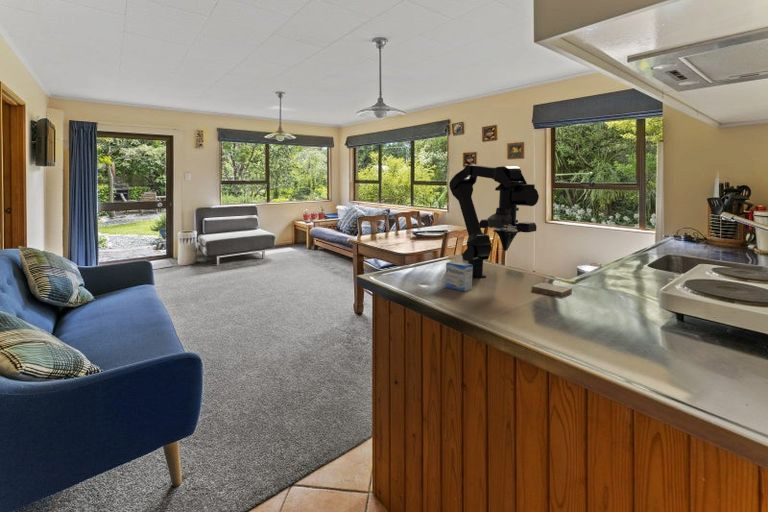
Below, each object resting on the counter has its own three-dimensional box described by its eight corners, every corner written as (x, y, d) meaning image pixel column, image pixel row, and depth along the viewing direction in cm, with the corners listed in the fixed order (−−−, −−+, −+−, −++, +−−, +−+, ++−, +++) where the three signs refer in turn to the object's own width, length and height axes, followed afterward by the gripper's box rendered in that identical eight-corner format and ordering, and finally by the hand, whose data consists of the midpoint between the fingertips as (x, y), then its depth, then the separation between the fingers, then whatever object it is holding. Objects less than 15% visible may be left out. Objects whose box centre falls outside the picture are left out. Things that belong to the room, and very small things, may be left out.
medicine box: (444, 287, 139) (445, 262, 137) (452, 285, 142) (452, 260, 140) (464, 291, 133) (465, 265, 132) (472, 289, 136) (473, 263, 135)
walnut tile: (531, 286, 134) (562, 292, 127) (542, 282, 139) (572, 288, 131) (531, 292, 134) (561, 298, 127) (541, 288, 139) (571, 294, 132)
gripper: (470, 204, 138) (468, 249, 141) (520, 207, 125) (517, 257, 128) (489, 203, 146) (487, 246, 149) (538, 205, 132) (535, 253, 135)
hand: (505, 250), depth 140 cm, fingers closed
